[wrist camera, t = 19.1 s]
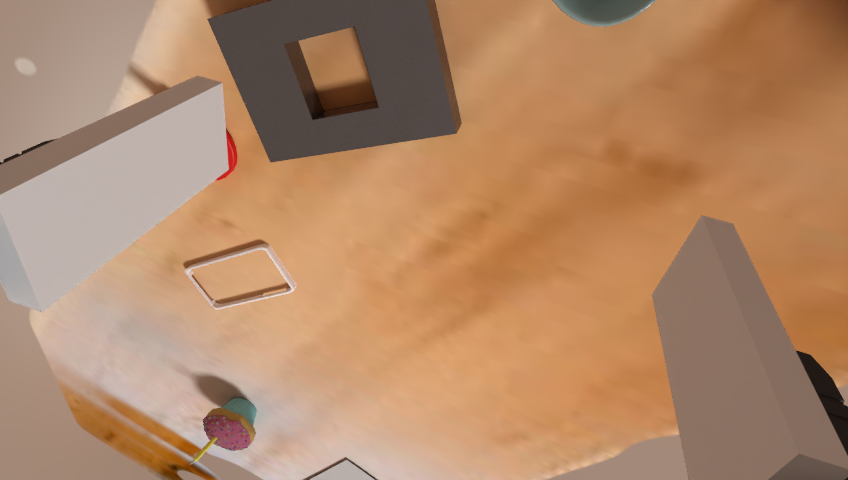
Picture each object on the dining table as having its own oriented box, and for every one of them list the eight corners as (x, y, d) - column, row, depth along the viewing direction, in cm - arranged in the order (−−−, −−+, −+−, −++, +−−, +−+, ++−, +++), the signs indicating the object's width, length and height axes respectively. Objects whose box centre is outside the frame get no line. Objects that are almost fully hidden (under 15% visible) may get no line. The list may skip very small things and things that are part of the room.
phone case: (269, 239, 61) (188, 264, 67) (264, 245, 60) (182, 270, 66) (300, 285, 64) (220, 304, 70) (295, 291, 63) (214, 310, 69)
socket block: (424, -45, 39) (416, -42, 37) (461, 123, 46) (456, 133, 44) (223, 14, 46) (207, 19, 44) (282, 152, 52) (270, 162, 50)
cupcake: (213, 400, 85) (167, 464, 75) (234, 382, 80) (187, 447, 70) (254, 428, 86) (214, 493, 77) (276, 412, 82) (236, 479, 72)
